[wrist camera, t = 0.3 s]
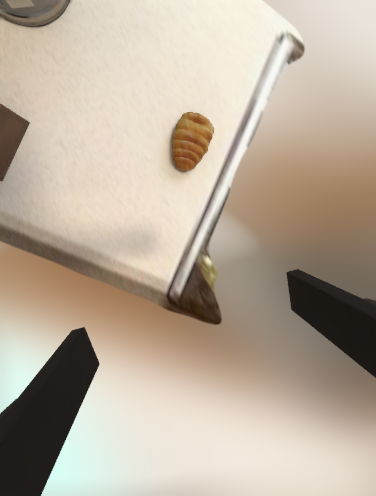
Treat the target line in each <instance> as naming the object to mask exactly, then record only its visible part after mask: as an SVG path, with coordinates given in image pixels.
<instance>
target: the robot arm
mask: <svg viewBox="0 0 376 496" xmlns="http://www.w3.org/2000/svg"><path fill="white" fill-rule="evenodd" d="M69 1H70V0H0V15H1V16H3V17H5V18H6V19H8V20H10V21H12V22H14V23H17V24H21V25H25V26H39V25H44V24H47V23H49V22H51V21H53V20H55V19H56V18H57V17H58V16H59V15H61V13H62V12H63V11H64V10H65V8H66V7H67V5H68V3H69ZM287 279H288V287H289V294H290V302H291V309H292V310H293V311H294V312H295V313H296V314H298V315H299V316H300V317H301V318H302V319H304V320H305V321H306V322H307V323H309V324H310V325H311V326H312V327H314V328H315V329H316V330H317V331H318V332H320V333H321V334H322V335H323V336H325V337H326V338H327V339H328V340H330V341H331V342H332V343H333V344H334V345H336V346H337V347H338V348H340V349H341V350H342V351H343V352H344V353H346V354H347V355H348V356H349V357H351V358H352V359H353V360H354V361H355V362H357V363H358V364H359V365H360V366H362V367H363V368H364V369H365V370H367V371H368V372H369V373H370V374H372V375H373V376H374V377H375V378H376V301H375V300H371V299H362V298H359V297H357V296H355V295H353V294H351V293H349V292H346V291H344V290H342V289H340V288H337V287H335V286H333V285H331V284H329V283H327V282H325V281H322V280H320V279H318V278H316V277H314V276H311V275H309V274H307V273H305V272H303V271H300V270H298V269H297V270H293V271H289V272H287ZM98 366H99V361H98V359H97V356H96V354H95V352H94V349H93V347H92V344H91V342H90V339H89V337H88V334H87V332H86V330H85V328H84V327H83V328H79V329H76V330H72V331H71V332H70V334H69V335H68V336H67V337H66V339H65V340H64V341H63V342H62V344H61V345H60V346H59V347H58V349H57V350H56V351H55V352H54V354H53V355H52V356H51V357H50V359H49V360H48V361H47V362H46V364H45V365H44V366H43V368H42V369H41V370H40V371H39V372H38V374H37V375H36V376H35V377H34V379H33V380H32V381H31V382H30V384H29V385H28V386H27V387H26V389H25V390H24V391H23V392H22V394H21V395H20V396H19V397H18V399H16V400H15V401H14V402H13V403H12V404H10V405H9V406H8V407H7V408H6V409H5V410H4V411H3V412H1V414H0V496H41V494H42V492H43V489H44V487H45V485H46V483H47V480H48V478H49V476H50V474H51V471H52V469H53V467H54V465H55V462H56V460H57V458H58V456H59V454H60V451H61V449H62V447H63V445H64V442H65V440H66V438H67V435H68V433H69V431H70V429H71V426H72V424H73V422H74V420H75V418H76V416H77V413H78V411H79V408H80V406H81V404H82V402H83V400H84V398H85V395H86V393H87V391H88V388H89V386H90V384H91V382H92V380H93V377H94V375H95V373H96V371H97V369H98Z"/></svg>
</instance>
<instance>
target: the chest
mask: <svg viewBox="0 0 376 496" xmlns="http://www.w3.org/2000/svg"><path fill="white" fill-rule="evenodd" d="M28 125H29V122H28V121H26V120H25V119H23V118H22V117H20V116H19V115H17V114H16V113H14V112H13V111H11V110H9V109H8V108H6V107H5V106H3V105H2V104H0V181H3V179H4V176H5V174H6V172H7V170H8V168H9V166H10V164H11V161H12V159H13V157H14V155H15V153H16V151H17V149H18V146H19V144H20V142H21V140H22V138H23V136H24V134H25V132H26V129H27V127H28Z"/></svg>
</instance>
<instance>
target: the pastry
mask: <svg viewBox="0 0 376 496" xmlns="http://www.w3.org/2000/svg"><path fill="white" fill-rule="evenodd" d="M213 133H214V127H213V126H212V124H211V123H210V121H209V120H208V119H207V118H205V117H204V116H202V115H200V114H199V113H193V112H187V113H184V114H183V115H182V117H181V119H180V120H179V121H178V123H177V125H176V130H175V134H174V136H173V160H174V162H175V165H176V167H177V169H179V170H182V171H189V170H192V169H194V168H195V166H196V165H197V164H198V163H199V162H200V161H201V159H202V157H203V156H204V154H205V153H206V152H207V151H208V146H209V143H210V140H211V139H212V134H213Z"/></svg>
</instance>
